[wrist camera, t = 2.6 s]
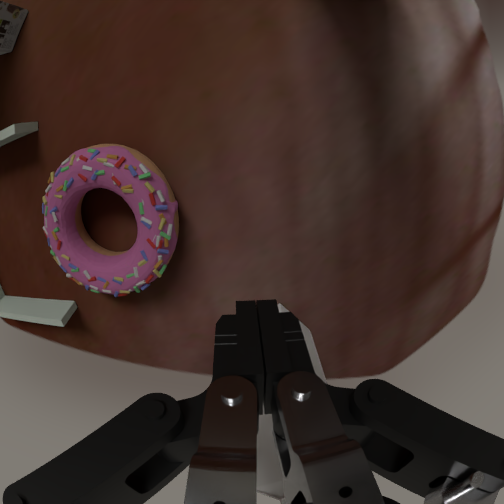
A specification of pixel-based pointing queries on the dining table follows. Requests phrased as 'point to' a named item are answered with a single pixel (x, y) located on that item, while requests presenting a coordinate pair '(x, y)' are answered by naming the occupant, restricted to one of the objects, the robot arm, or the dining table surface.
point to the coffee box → (10, 25)
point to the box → (22, 306)
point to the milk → (266, 450)
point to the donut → (140, 201)
